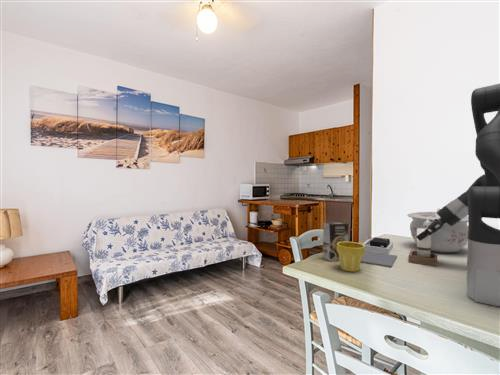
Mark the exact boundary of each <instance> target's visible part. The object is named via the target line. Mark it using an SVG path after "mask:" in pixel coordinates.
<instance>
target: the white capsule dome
mask: <svg viewBox="0 0 500 375" xmlns="http://www.w3.org/2000/svg"><path fill="white" fill-rule="evenodd" d="M424 230H425V229H423V228H418V229H417V236H418V235H419V234H420V233H422V232H423V231H424ZM429 231H430V232H431V230H430V229H429ZM415 246H416V251H417V256H421V257H428V258H430V256H431V253H432V251H431V235H429V236H427V237H425V238H424V239H422V240H421V241H420V240H419V239H417V244H416V245H415Z"/></svg>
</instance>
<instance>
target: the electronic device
mask: <svg viewBox="0 0 500 375" xmlns="http://www.w3.org/2000/svg"><path fill="white" fill-rule="evenodd" d="M390 239H391V238H390ZM390 239H389V238H386V237H385V238H384V237H377V236H376V237H375V236H374V237H373V238H372V239H370V240H371V241H370V245H369V246H375V247H382V248H387V246H388V245H389V244H390V242H391V240H390Z"/></svg>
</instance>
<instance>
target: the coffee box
mask: <svg viewBox="0 0 500 375" xmlns="http://www.w3.org/2000/svg"><path fill="white" fill-rule="evenodd" d="M322 230H323V235H322V236H323V237H322V238H323V240H322V258H323V259H324V260H327V261H329V262H337V261H338V262H340V259H339V254H338V252H337V243H338V242H349V223H347V222H343V221H342V222H341V221H328V222H326V221H325V222H323V228H322Z"/></svg>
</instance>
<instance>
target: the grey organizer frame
mask: <svg viewBox="0 0 500 375" xmlns="http://www.w3.org/2000/svg"><path fill="white" fill-rule="evenodd" d="M371 240H372V239H370V238H368V239H367V240H366V241H365V242H363V243H362V244H363V245H364V246H365V251H369V252H376V253H382V254H389V255H390V252H391V251H392V249H393V248H394V242H392V241H390V244H389V245H388V246H387V248H382V247H383V246H381V247H375V246H370V241H371Z"/></svg>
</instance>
